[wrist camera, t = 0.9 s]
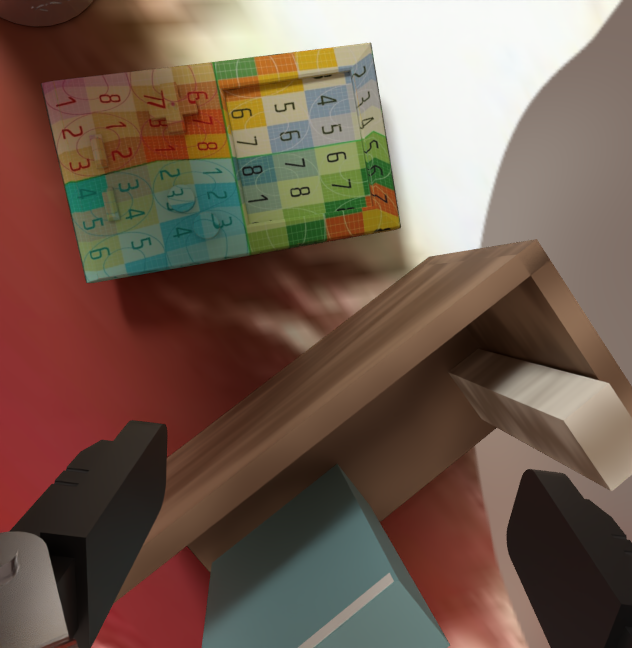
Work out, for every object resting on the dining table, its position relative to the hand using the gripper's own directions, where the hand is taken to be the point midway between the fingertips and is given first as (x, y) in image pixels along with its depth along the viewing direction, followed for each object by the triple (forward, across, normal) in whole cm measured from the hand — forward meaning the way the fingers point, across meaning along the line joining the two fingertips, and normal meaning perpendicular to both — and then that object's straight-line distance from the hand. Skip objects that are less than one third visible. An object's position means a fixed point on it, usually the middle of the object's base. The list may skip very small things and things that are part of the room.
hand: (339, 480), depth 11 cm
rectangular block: (+19, +1, +18) cm, 26 cm away
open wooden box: (+23, -2, +12) cm, 26 cm away
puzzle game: (+26, +8, -5) cm, 28 cm away
